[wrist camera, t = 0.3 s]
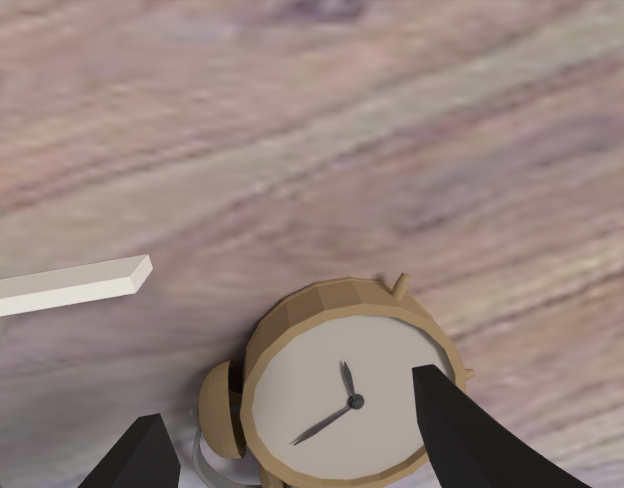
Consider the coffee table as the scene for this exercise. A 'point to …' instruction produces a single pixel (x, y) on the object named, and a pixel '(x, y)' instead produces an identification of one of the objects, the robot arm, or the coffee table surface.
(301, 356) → the alarm clock
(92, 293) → the clock dock
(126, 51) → the coffee table surface
